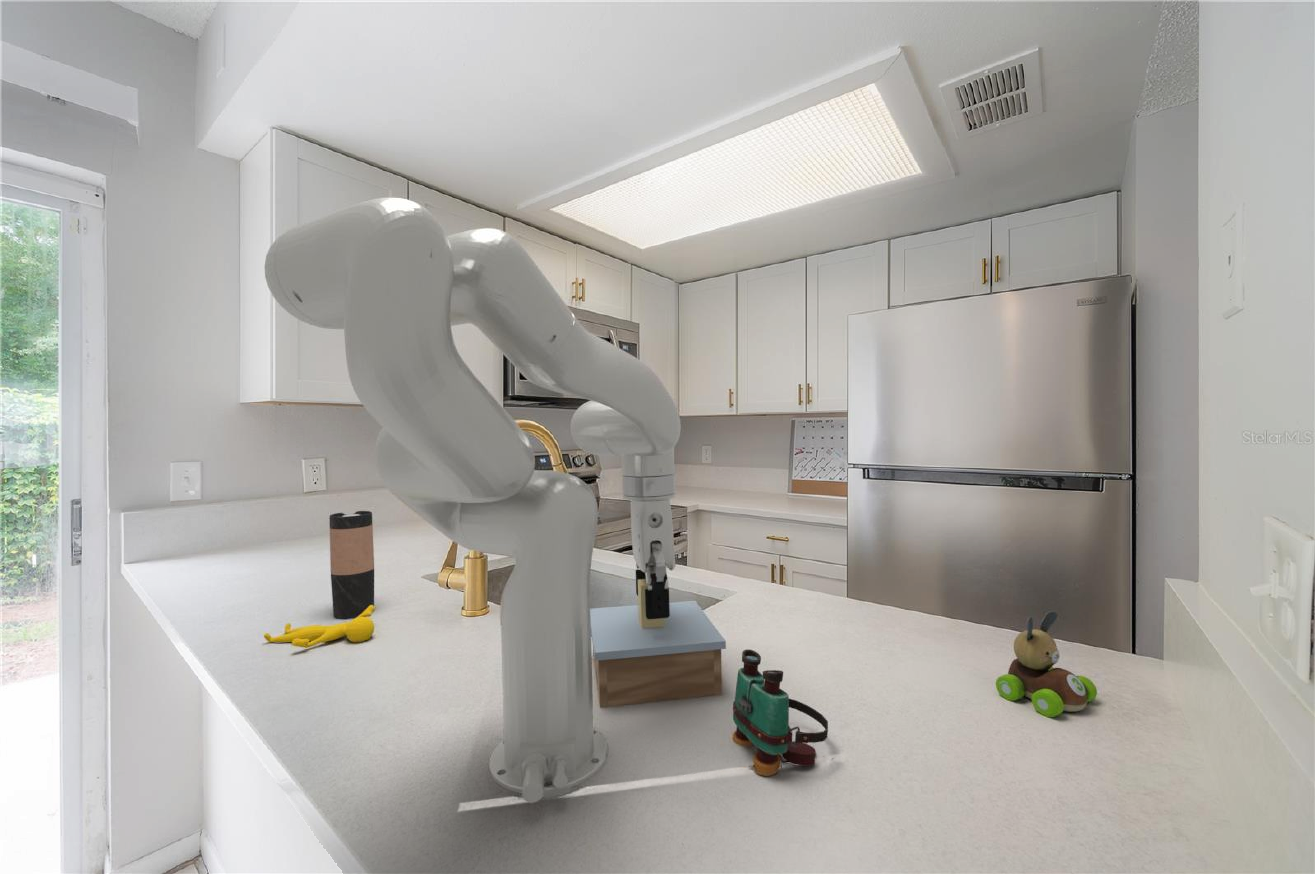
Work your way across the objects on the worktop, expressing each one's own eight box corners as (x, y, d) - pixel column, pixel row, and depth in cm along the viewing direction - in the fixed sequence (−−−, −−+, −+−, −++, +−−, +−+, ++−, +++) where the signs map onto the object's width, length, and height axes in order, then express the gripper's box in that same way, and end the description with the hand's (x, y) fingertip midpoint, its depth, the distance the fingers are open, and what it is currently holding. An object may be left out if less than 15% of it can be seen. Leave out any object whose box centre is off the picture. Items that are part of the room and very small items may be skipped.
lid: (725, 648, 72) (724, 595, 72) (595, 660, 69) (593, 605, 69) (695, 606, 88) (694, 563, 88) (588, 615, 86) (587, 570, 85)
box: (722, 700, 72) (721, 647, 72) (600, 713, 70) (598, 658, 69) (693, 651, 88) (692, 608, 88) (593, 660, 85) (592, 616, 85)
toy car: (1062, 725, 65) (1062, 631, 65) (989, 693, 73) (988, 610, 73) (1104, 706, 69) (1104, 618, 69) (1030, 678, 77) (1030, 599, 77)
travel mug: (356, 620, 106) (353, 517, 105) (322, 618, 107) (319, 516, 107) (384, 607, 113) (381, 510, 113) (351, 606, 115) (348, 510, 114)
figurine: (302, 610, 104) (392, 602, 102) (305, 634, 104) (394, 626, 102) (241, 637, 91) (343, 629, 89) (245, 665, 91) (347, 657, 89)
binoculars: (845, 672, 58) (764, 679, 55) (838, 772, 58) (756, 785, 55) (796, 641, 67) (723, 646, 63) (789, 728, 67) (716, 738, 63)
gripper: (687, 493, 70) (691, 625, 71) (663, 479, 87) (666, 586, 88) (629, 496, 69) (633, 631, 70) (616, 481, 86) (619, 589, 87)
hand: (652, 605), depth 79 cm, fingers open, 9 cm apart
